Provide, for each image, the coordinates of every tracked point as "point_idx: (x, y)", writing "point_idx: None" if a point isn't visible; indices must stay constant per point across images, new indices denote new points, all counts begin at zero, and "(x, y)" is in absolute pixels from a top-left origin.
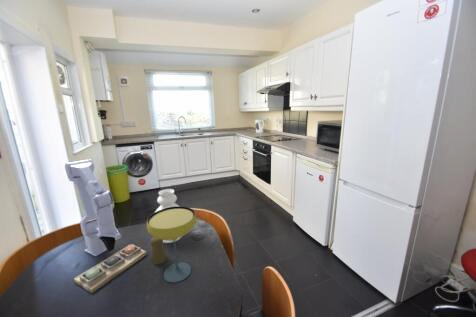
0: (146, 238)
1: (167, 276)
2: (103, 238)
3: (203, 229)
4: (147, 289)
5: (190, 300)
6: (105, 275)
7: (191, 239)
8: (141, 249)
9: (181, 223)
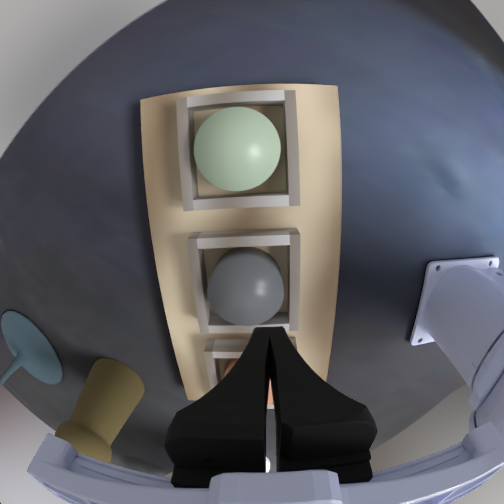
0: None
1: (21, 325)
2: (238, 445)
3: None
4: (15, 259)
5: None
6: (180, 197)
7: (144, 459)
8: None
9: None
